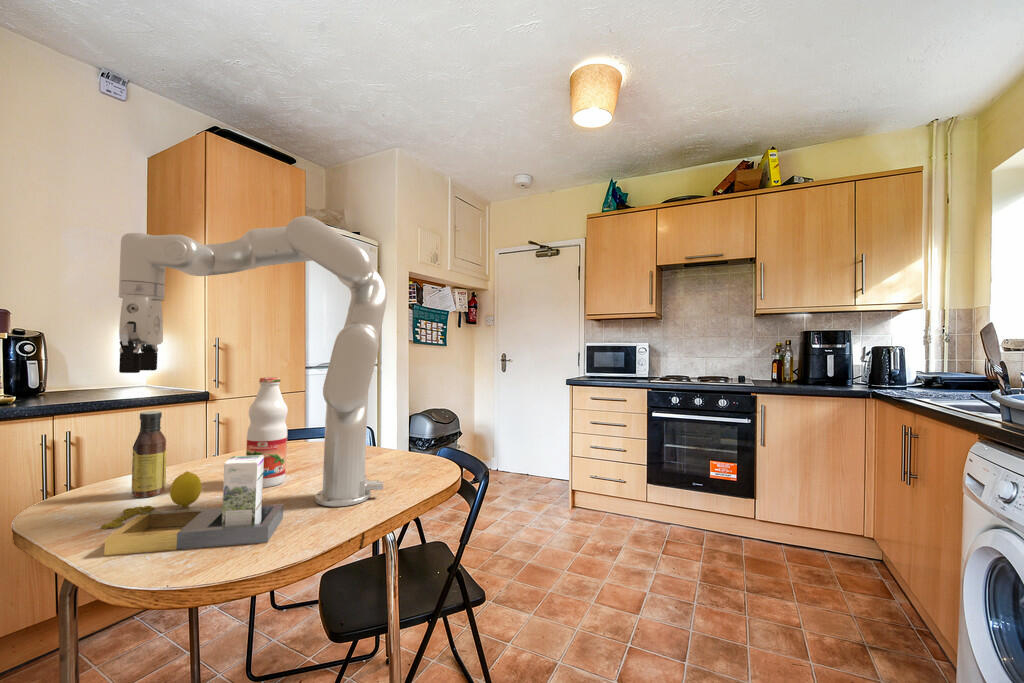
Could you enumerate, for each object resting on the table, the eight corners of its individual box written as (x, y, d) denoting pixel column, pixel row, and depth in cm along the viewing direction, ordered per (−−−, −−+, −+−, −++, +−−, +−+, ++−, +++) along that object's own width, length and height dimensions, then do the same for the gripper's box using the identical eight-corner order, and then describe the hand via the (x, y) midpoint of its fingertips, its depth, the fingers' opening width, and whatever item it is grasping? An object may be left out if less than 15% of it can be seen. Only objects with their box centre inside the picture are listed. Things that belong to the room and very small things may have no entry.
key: (115, 524, 84) (88, 524, 84) (115, 531, 84) (87, 531, 83) (160, 504, 96) (136, 503, 95) (159, 509, 96) (135, 509, 95)
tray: (283, 517, 92) (283, 503, 92) (267, 542, 80) (268, 526, 80) (143, 527, 85) (143, 512, 85) (104, 555, 73) (105, 538, 73)
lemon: (183, 513, 93) (185, 476, 93) (162, 510, 94) (164, 473, 94) (206, 504, 98) (208, 469, 98) (186, 502, 99) (188, 467, 99)
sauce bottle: (144, 490, 106) (148, 409, 107) (171, 490, 107) (175, 410, 107) (123, 499, 100) (127, 413, 100) (151, 499, 100) (155, 413, 101)
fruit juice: (290, 477, 120) (294, 377, 121) (278, 488, 111) (282, 379, 111) (253, 478, 118) (258, 376, 119) (238, 489, 109) (243, 378, 110)
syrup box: (261, 524, 88) (264, 453, 88) (254, 536, 82) (257, 460, 83) (229, 527, 86) (232, 454, 87) (219, 540, 81) (223, 462, 81)
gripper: (149, 288, 86) (145, 373, 86) (176, 297, 102) (173, 369, 102) (100, 285, 83) (96, 373, 83) (136, 295, 99) (133, 369, 99)
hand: (139, 371), depth 92 cm, fingers open, 9 cm apart
